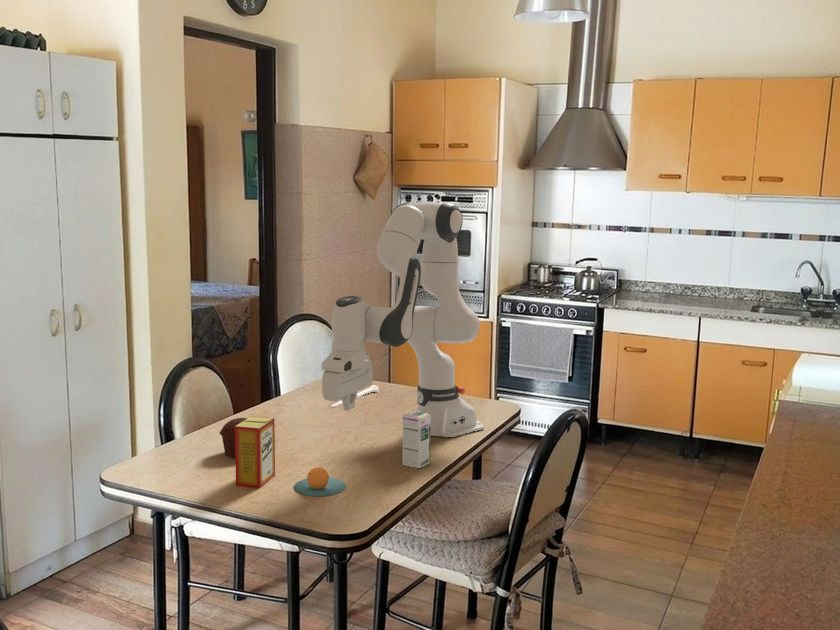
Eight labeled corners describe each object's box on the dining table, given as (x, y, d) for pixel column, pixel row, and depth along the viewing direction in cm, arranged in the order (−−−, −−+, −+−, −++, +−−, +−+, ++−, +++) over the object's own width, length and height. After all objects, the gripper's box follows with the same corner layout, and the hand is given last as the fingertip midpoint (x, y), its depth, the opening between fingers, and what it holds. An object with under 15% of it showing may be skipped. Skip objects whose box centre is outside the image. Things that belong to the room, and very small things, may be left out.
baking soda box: (259, 488, 207) (258, 427, 205) (235, 485, 209) (234, 424, 206) (275, 475, 217) (274, 416, 214) (252, 473, 218) (251, 414, 215)
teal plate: (333, 474, 218) (333, 473, 218) (354, 490, 207) (354, 490, 207) (286, 482, 212) (286, 481, 212) (305, 499, 200) (305, 499, 200)
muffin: (248, 444, 241) (247, 411, 239) (269, 454, 233) (269, 420, 232) (212, 453, 233) (211, 419, 231) (233, 463, 225) (232, 428, 223)
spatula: (338, 410, 280) (338, 402, 279) (328, 408, 282) (328, 400, 281) (381, 392, 304) (381, 385, 304) (371, 391, 306) (371, 383, 305)
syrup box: (419, 469, 223) (420, 417, 221) (401, 465, 226) (402, 414, 224) (430, 463, 228) (431, 412, 225) (412, 459, 231) (413, 409, 228)
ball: (324, 481, 212) (323, 461, 210) (333, 489, 207) (331, 469, 206) (304, 486, 209) (303, 466, 208) (312, 495, 205) (311, 474, 203)
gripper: (358, 349, 227) (358, 397, 230) (317, 365, 209) (318, 417, 212) (378, 352, 224) (378, 400, 227) (338, 368, 206) (339, 421, 209)
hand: (349, 409), depth 219 cm, fingers closed
